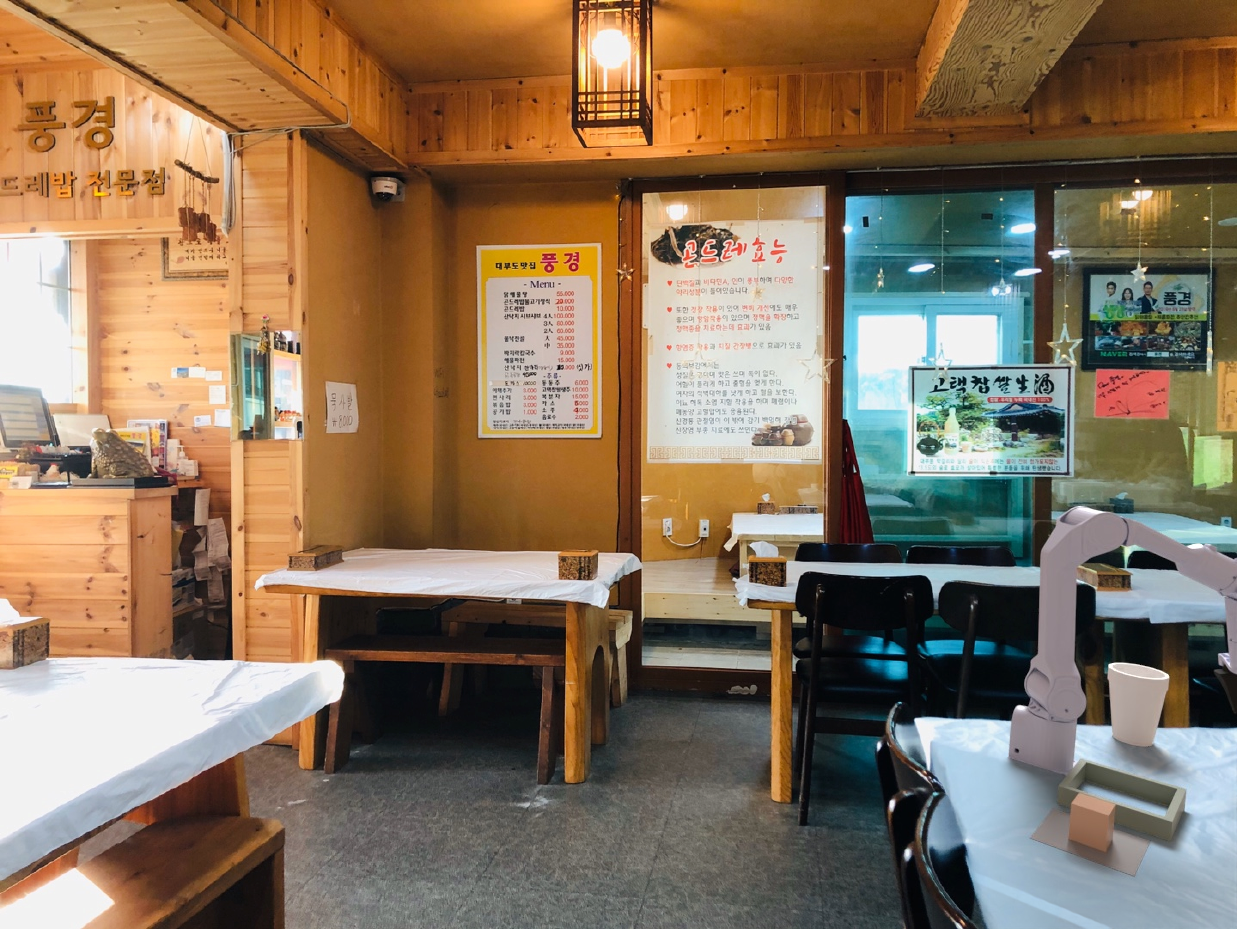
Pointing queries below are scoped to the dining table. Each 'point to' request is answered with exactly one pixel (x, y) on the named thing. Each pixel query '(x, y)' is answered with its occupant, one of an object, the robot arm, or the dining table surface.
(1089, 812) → the clay block
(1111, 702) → the foam cup
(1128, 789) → the olive bin
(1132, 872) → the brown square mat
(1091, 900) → the dining table surface
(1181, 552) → the robot arm
